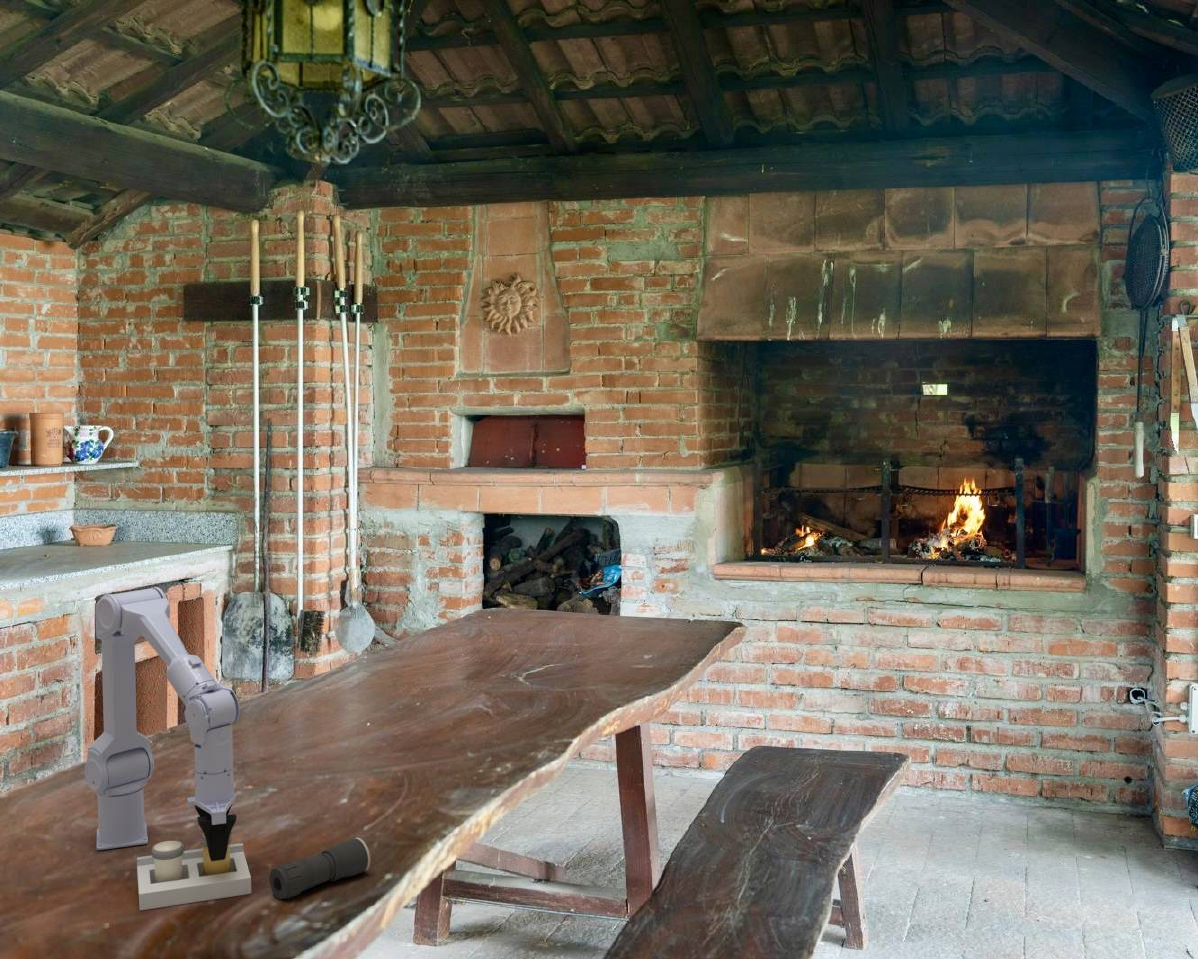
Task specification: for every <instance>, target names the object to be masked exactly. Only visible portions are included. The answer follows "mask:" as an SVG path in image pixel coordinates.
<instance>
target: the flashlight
mask: <svg viewBox="0 0 1198 959" xmlns="http://www.w3.org/2000/svg"><path fill="white" fill-rule="evenodd" d="M370 865H371V855H370V850H369V848H368V846H367V844H366V842H365V841H364V840H363V839H362V838H360V837H354V838H351V839H348V840H346V841H343V842H339V843H338V844H336V845H335V846H333V847H330V848H327V849H324V850H323V851H322V852H321V854H320V853H319V854H316V855H314V856H311V857H308V858H302V859H299V860H296V861H293V862H292V861H286V862H283V863H280V864H277V865H276V866H275V867H274V868H273V869H271V870H270V873H269V886H270V890H271V891H272V894H273V895H274V897H276V898H277V899H279V900H283V899H284V900H289V899H290V898H293V897H297V896H299V895H300V894H301V893H302V892H305V891H306V890H310V889H312V888H313V887H315V886H317V885H320V884H323V883H325V882H326V883H327V882H328V881H329V882H335V881H338V880H341V879H342V878H350V877H351V878H352V877H354V876H357V875H358V874H359V875H360V874H361V873H365V872H366V871H368V870H369V868H370Z"/></svg>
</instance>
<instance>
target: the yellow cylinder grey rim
mask: <svg viewBox="0 0 1198 959" xmlns="http://www.w3.org/2000/svg"><path fill="white" fill-rule="evenodd" d="M199 838H200V845H201V846H202V848H203V873H204V876H209V875H216V874H223V873H230V845H231V843H232V842H231V841H232V840H233V839H232V838H233V837H232V832H231V833H230V837H229V842H228V848H227V853H226V857H225V859H224V860H218V861H211V859H210V856H209V852H208V847H207V841H206V838H205V835H204V833H203V831H202V832H201V833H200V835H199Z"/></svg>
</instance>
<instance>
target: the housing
mask: <svg viewBox="0 0 1198 959" xmlns="http://www.w3.org/2000/svg"><path fill="white" fill-rule="evenodd" d="M136 872H137V874H136V875H137V889H138V890H137V892H138V905H139V908H138V909H139V911H146V910H151V909H152V910H153V909H157V908H165V907H173V906H179V905H184V904H185V905H186V904H191V903H197V902H198V903H199V902H204V901H205V902H206V901H211V900H216V899H217V900H218V899H225V898H230V897H238V896H245V895H251V894H252V877H251V873H250V869H249V867H248V863H247V859H246V855H245V852H244V843H243V842H240V843H233V844H230V873H223V874H216V875H209V876H204V873H203V847H202V848H197V849H196V848H195V849H188V850H184V853H183V855H182V880H175V881H168V882H161V883H155V868H154V858H153V857H152V854H151V855H146V856H139V857H138V856H137V857H136Z"/></svg>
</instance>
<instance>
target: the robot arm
mask: <svg viewBox="0 0 1198 959" xmlns="http://www.w3.org/2000/svg"><path fill="white" fill-rule="evenodd" d="M170 604H171V603H170V601H169V600H168V597H167V595H166V593H165V592H164V591H163V590H162V589H161V588H160V587H157V586H153V587H150V588H145V589H140V590H133V591H132V590H131V591H127V592H125V591H124V592H119V593H113V594H111V593H108V594H107V593H106V594H104V595H102V596H101V597H100V599H99V600H98V601H97V602H96V603H95V608H94V609H95V610H94V612H95V635H96V636H95V637H96V639H98V640H101V666H102V667H101V668H102V670H101V671H102V675H101V676H102V706H103V709H102V711H103V714H102V715H103V716H102V717H103V732H102V733H101V735H99V736H98V737H97V738H96V739H95V740H94V741H92V743H91V744H90V745H89V746H88V747H87V756H86V757H87V759H86V762H85V764H84V765H85V767H84V778H85V781H86V783H87V786H88V787H89V789H90V790H91V791H93V792H94V793H95V794H97V813H98V814H97V815H98V816H97V817H98V828H96V850H97V851H102V850H103V851H104V850H110V849H118V848H119V849H120V848H125V847H132V846H141V845H146V844H148V843H149V839H148V828H147V822H146V821H145V805H144V804H145V800H144V787H146V786H148V780H149V779H151V777H152V776H153V773H154V770H155V761H154V755H153V753H152V748H151V741H150V739H149V738H148V737H147V736H146V735H145V734H143V733H140V732H138V731H137V692H136V691H137V690H136V684H137V682H136V647H135V646H136V645H135V643H136V641H137V640H138V639H139V638H140V637H143V638H144V639H145V641H146V642H147V643H148V644H149V645H150V646H151V647H152V649H153V650H154V651H155V652H156V654H157V655H158V656H159V657H160V659H162V661H163V662H164V663H165V665H166V666H167V667H168V669H167V670H166V679H167V680H168V682H169V684H170V685H171V687H172V688H173V689H174V691H175V692H176V694H177V695H178V697H179V699H180V700H181V701H182V704H183V705H184V706H185V710H184V711H183V712H184V717H185V723H186V724H187V726H188V730H189V738H190V741H191V742H192V743H193V754H194V755H193V757H194V760H193V762H194V790H195V793H194V794H195V795H194V796H190V797H189V796H188V797H187V805H188V806H194V808H195V810H196V812H197V814H198V816H197V819H196V820H197V824H198V826H199V827H200V829H201V830H202V832H203V833H204V835H205V838H206V841H207V847H208V852H209V856H210V859H211V861H218V860H224V859H225V857H226V853H227V848H228V842H229V837H230V833H231V834H232V830H233V828H234V826H235V824H236V822H237V814H236V813H235V814H230V810H231V808H232V806H233V803H234V802H235V800H236V792H235V782H234V780H235V779H234V745H233V744H234V741H233V725H235V724H236V723H237V722H238V721H239V718H240V714H241V708H240V707H241V706H240V701H239V699H238V697H237V695H236V693H235V690H233V689H232V688H231V687H228V686H224V684H223V683H218V682H217V680H216V679H215V677H214V676H213V675H212V674H211V672H210V671H209V669H208V668H207V666H206V665H205V663H204V662H203V660H202V659H201V658H200V657H199V656H198V655H195V654H189V652H188V651H187V649H186V646H185V645H184V643H183V642H182V639H181V638H180V637H179V635H178V633H177V631H176V629H175V627H174V625H173V623H172V622H171V620H170V618H171V605H170Z"/></svg>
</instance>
